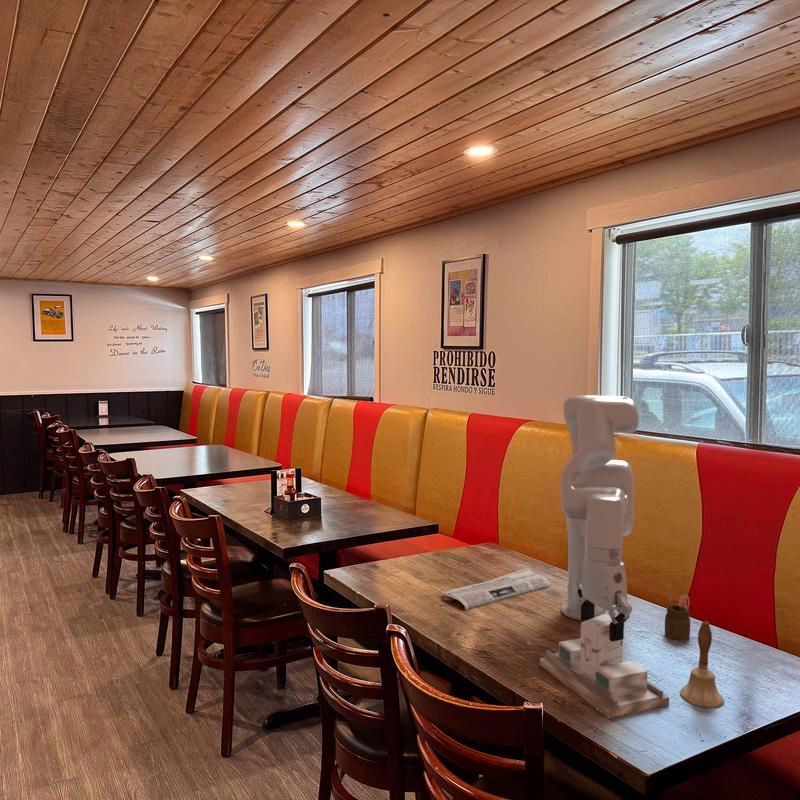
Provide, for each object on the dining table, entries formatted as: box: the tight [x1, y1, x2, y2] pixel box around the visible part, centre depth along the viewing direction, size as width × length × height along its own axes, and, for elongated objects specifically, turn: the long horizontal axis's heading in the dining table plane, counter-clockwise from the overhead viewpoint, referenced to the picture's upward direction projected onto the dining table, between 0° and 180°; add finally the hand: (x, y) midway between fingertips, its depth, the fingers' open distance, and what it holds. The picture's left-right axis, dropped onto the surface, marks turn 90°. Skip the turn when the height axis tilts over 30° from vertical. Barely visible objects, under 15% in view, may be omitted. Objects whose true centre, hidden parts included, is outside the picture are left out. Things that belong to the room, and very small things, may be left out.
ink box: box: [580, 614, 624, 682], centre depth 141 cm, size 9×5×12 cm, turn 125°
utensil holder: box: [664, 584, 691, 641], centre depth 166 cm, size 6×6×12 cm
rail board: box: [539, 637, 670, 718], centre depth 141 cm, size 15×24×6 cm, turn 21°
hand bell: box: [679, 620, 725, 709], centre depth 135 cm, size 8×8×16 cm
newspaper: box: [441, 567, 551, 611], centre depth 197 cm, size 35×12×4 cm, turn 124°
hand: (601, 630), depth 141 cm, fingers open, 9 cm apart
